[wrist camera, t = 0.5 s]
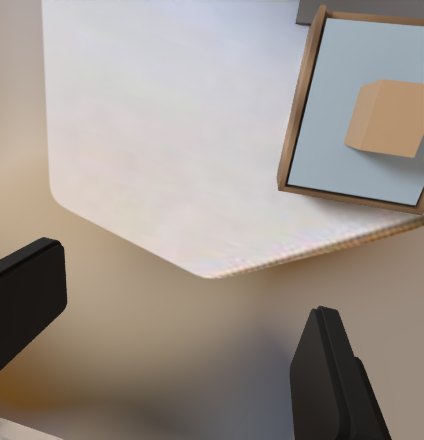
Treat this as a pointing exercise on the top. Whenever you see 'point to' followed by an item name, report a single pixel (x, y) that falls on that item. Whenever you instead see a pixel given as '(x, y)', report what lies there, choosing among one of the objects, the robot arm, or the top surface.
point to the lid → (364, 113)
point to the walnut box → (299, 105)
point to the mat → (361, 8)
